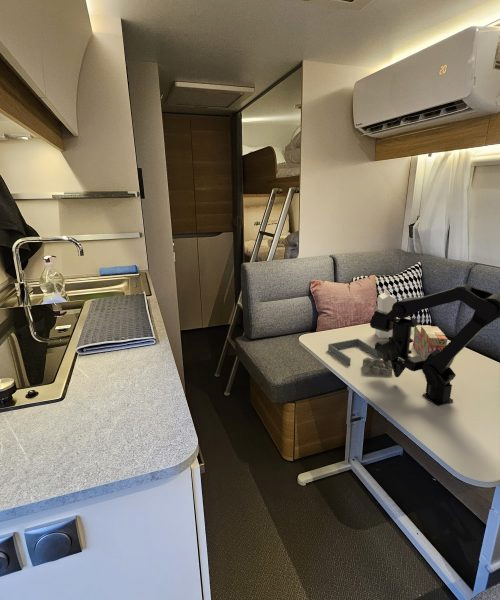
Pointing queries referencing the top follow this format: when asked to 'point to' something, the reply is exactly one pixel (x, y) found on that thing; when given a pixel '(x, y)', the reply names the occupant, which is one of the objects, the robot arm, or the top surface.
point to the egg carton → (372, 364)
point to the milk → (386, 306)
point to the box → (344, 344)
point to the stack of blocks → (428, 340)
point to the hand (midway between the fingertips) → (396, 376)
